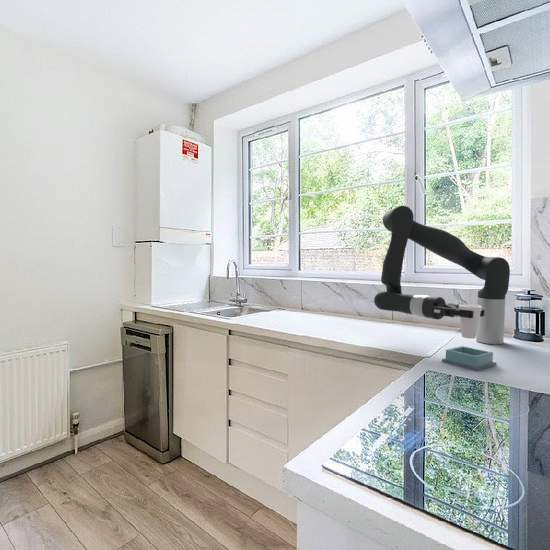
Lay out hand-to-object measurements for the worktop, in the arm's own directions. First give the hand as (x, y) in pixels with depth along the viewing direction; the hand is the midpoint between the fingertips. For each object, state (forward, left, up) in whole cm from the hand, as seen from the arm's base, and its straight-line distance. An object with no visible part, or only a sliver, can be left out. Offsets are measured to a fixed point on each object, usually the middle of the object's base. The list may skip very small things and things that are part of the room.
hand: (478, 313), depth 105 cm
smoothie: (0, -3, -8) cm, 8 cm away
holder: (0, -2, -16) cm, 16 cm away
